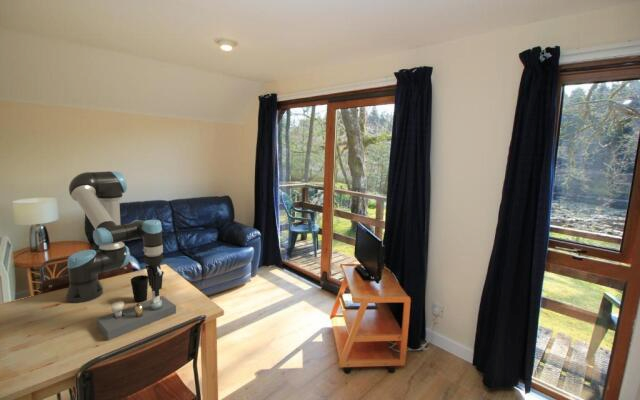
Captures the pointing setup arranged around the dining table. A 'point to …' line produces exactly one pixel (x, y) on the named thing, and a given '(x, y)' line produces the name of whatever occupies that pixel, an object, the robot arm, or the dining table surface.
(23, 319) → the dining table surface
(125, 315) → the panel
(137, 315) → the trim post
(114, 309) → the knob
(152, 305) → the knob
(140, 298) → the cup
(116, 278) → the dining table surface
